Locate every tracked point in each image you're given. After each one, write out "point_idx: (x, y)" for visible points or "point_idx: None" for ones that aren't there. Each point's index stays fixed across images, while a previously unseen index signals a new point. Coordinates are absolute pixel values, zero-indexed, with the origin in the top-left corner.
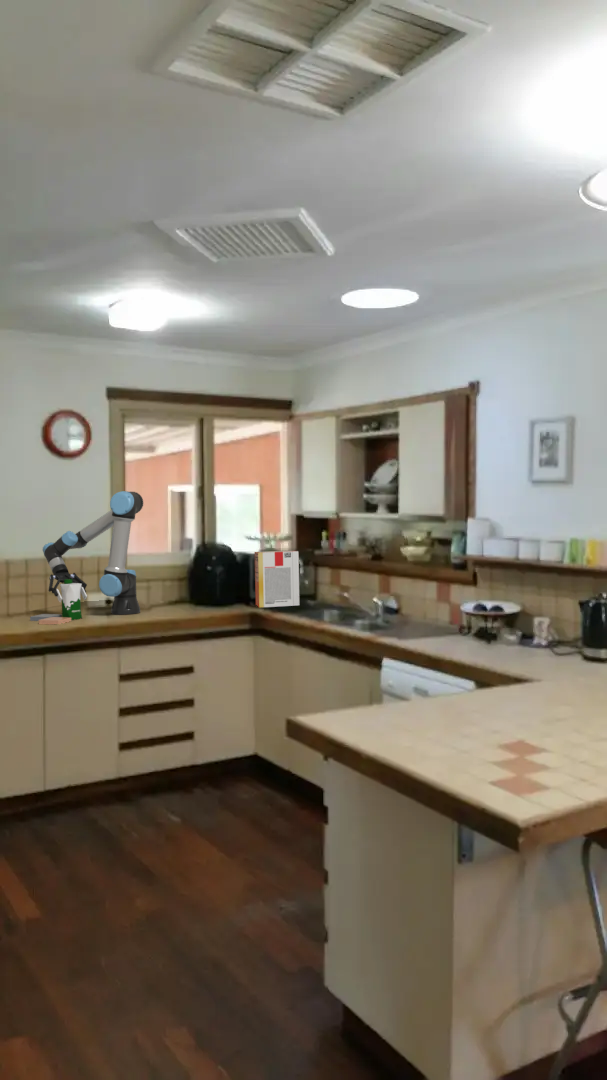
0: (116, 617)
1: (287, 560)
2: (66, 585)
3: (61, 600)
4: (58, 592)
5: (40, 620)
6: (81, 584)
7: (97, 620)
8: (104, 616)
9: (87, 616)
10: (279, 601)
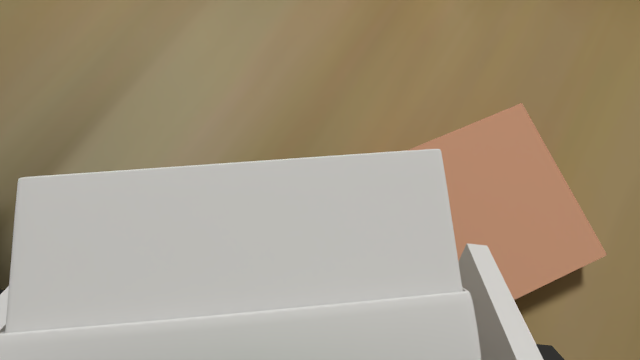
0: (54, 83)
1: None
2: (458, 280)
3: None
4: (532, 356)
5: (595, 240)
6: (46, 180)
7: (231, 68)
8: None
9: None
10: None
